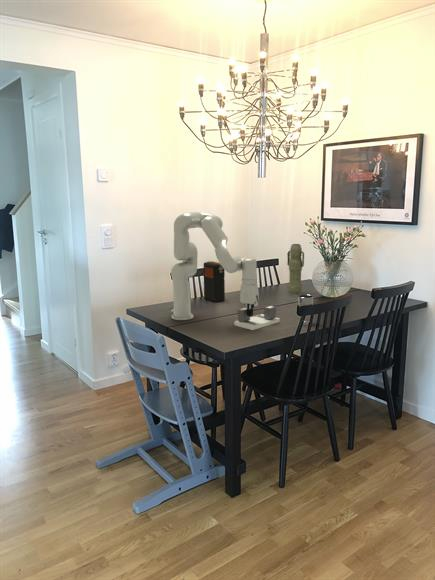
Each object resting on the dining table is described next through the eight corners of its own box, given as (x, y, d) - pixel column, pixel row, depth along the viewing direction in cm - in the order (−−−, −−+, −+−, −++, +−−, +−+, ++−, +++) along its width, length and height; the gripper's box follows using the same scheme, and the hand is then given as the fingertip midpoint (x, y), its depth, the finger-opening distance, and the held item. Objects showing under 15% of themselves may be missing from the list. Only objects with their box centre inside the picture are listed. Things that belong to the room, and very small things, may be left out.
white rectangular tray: (234, 325, 249) (234, 321, 248) (261, 317, 263) (261, 313, 263) (252, 330, 239) (252, 326, 239) (279, 322, 254) (279, 318, 253)
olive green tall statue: (288, 292, 328) (289, 243, 320) (305, 294, 322) (306, 243, 315) (284, 295, 320) (285, 244, 313) (300, 296, 314) (302, 245, 307)
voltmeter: (226, 301, 304) (226, 263, 299) (215, 303, 299) (215, 264, 294) (213, 297, 317) (212, 260, 311) (202, 298, 312) (201, 261, 307)
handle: (264, 318, 252) (264, 307, 251) (270, 316, 256) (270, 305, 254) (269, 319, 249) (269, 308, 248) (275, 317, 253) (275, 306, 252)
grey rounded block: (238, 320, 249) (238, 309, 248) (244, 318, 252) (244, 307, 251) (243, 321, 246) (243, 310, 245) (249, 319, 249) (250, 308, 248)
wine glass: (314, 324, 249) (315, 297, 246) (301, 325, 246) (302, 298, 243) (308, 320, 256) (308, 294, 253) (294, 321, 254) (295, 295, 251)
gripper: (234, 281, 245) (235, 314, 248) (255, 284, 234) (255, 319, 238) (244, 279, 250) (244, 312, 253) (265, 282, 239) (265, 316, 243)
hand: (250, 315), depth 245 cm, fingers closed
